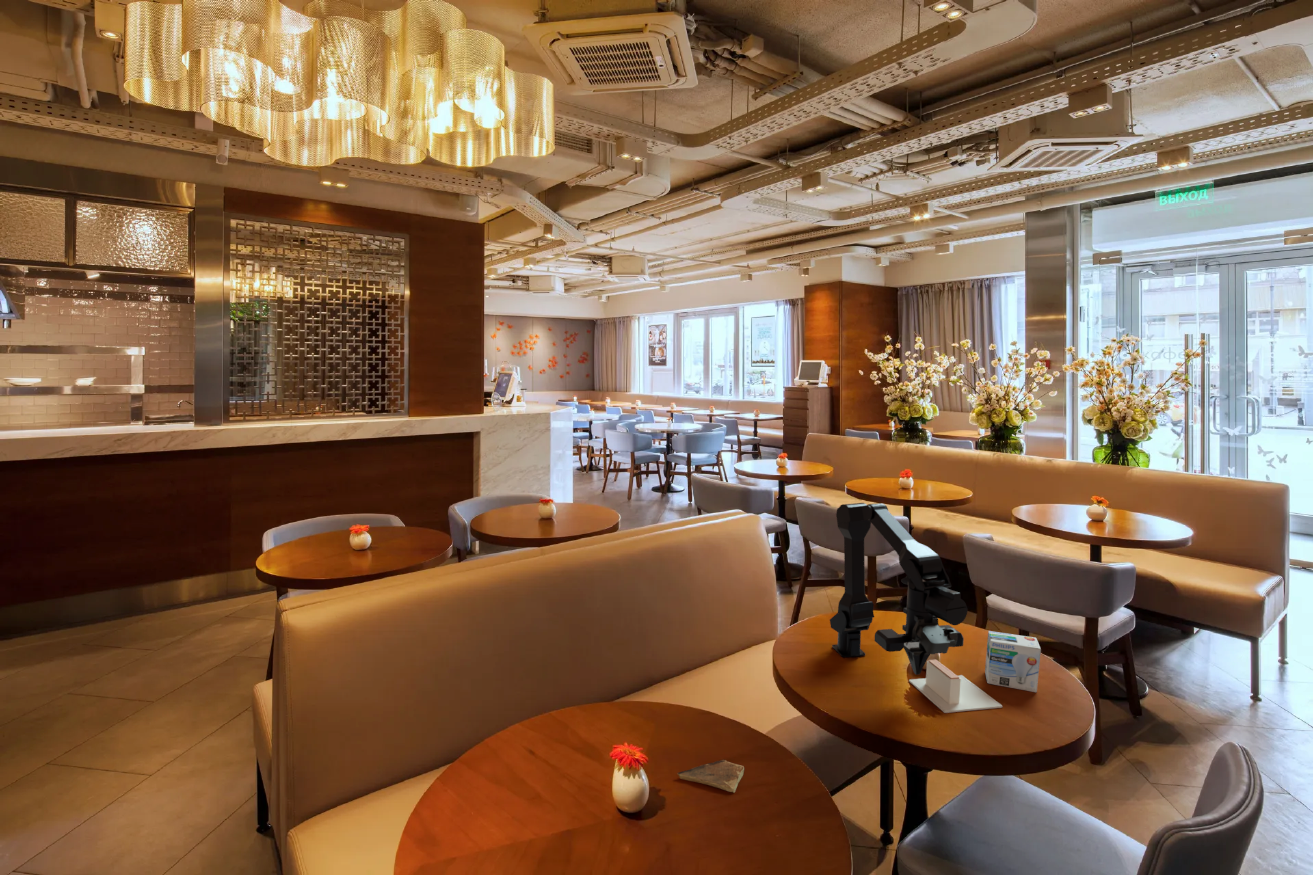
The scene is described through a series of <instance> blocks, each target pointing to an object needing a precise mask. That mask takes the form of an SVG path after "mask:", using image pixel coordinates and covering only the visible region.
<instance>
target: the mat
mask: <svg viewBox="0 0 1313 875" xmlns="http://www.w3.org/2000/svg"><path fill="white" fill-rule="evenodd" d="M957 676H958V677H959V678H960V679H961V682H960V697H959V703H956V704H949V703H947V702H946V701H945V700H944V699H943V698H942V697H940V696H939V695H938V694H937V693H936V692H935V691H933V690H932V689H931V688H930V687H929V686H927V685H926V677H925V678H911V679H909V680H908V682H909V683H910V684H911V685H913V686H914V687H915V688H916V690H918V691H919V692H920V693H921V694H922V695H924V696H925V697H926V698H927V699H928V700H929V701H930V702H931V703H933V704H934V705H935V706H936V707H937V708H938V709H939V710H941V711H942V712H943V713H944V714H948V713H949V714H950V713H956V712H957V713H959V712H968V711H969V712H971V711H980V710H990V709H991V710H992V709H1001V708H1003V705H1002V704H1001V703H1000V702H998V701H996V699H994V698H993V697H991V696H990V695H989V694H987V693H986V692H985V691H984V690H982V689H981V688H979V686H977V685H976V684H974V683H973V682H971V681H970V680H969V679H967V678H966V677H965V676H964V675H963V674H960V675H957Z"/></svg>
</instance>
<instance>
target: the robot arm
mask: <svg viewBox="0 0 1313 875" xmlns="http://www.w3.org/2000/svg"><path fill="white" fill-rule="evenodd" d="M835 515H836V522H837V529H838V530H839V532H840V533H841V535H842V536H843V542H844V544H843V545H844V546H843V548H844V549H843V551H844V552H843V553H844V554H843V555H844V556H843V558H844V559H843V560H844V593H843V595H842V596H841V598H840V599H839V601H838V607H837V613H836V614H834V615H833V616H832V617H831V618H830V619H829V623H830V629H832V630H833V631H835V632H837V644H831V646H832V648H833V649H834V650H835V651H836V652H837V653H838V655H840V656H841V657H842V658H851V657H852V658H853V657H863V656H866V652H865V651H864V650H863V649H861V639H862V636H861V635H862V633H861V632H862V631H868V630H869V629H870V626H871V624H872V623H873V618H875V614H874V602H873V601H870V599H869V598H868V596H867V595H866V591H865V590H866V588H865V586H866V583H865V582H866V581H865V580H866V578H865V577H866V576H865V575H866V574H865V572H866V570H865V539H866V537H867V535H868V533H869V531H870V529H871V524H872V525H873V526H874V528H875V529H876V530H877V531H878V533H880V535H881V536H882V537H883V539H884V540H886V542H887V543H888V544H889V545H890V547H891V548H892V549H893V550H894V552H896V554H897V556H898V563H899V565H900V567H901V568H902V571H903V572H904V574H905V575H906V576H905V577H903V578H902V579H900V581H901V583H903V584H904V585H907V597H906V607H903V609H902V610H903V613H904V614H905V615H906V618H905V624H902V630H903V631H904V633H898V632H896V630H894V629H892V628H887V629H877V631H875V633H874V642H875V643H876V644H877V645H879V647H881V648H882V649H883V650H885V652H889V653H891V652H901V651H902V650H903V649H904V652H905V654H906V657H907V658H908V661H909V664H910V666H911V668H912V671H913V673H914V674H915V675H916V676H917V675H918V676H919V675H921V673H922V671H923V668H924V667H925V664H927V661H928V660H929V657H930V656H931V655H937V654H947V653H948V650H949V648H950V647H951V648H956V647H957V648H959V647H964V635H963V634H962V632H960V631H958V630H957V629H956V628H954V627H952V626H958V625H960V624H962V623H963V622H964V620H965V619H966V617H967V616H968V612H969V611H968V607H967V603H966V602H965V601H964V599H962V598H961V597H962V596H961V595H962V594H961V592H958V591H955V590H952V589H949V588H951V587H952V583H951V581H950V577H949V575H948V573H947V571H946V569H945V567H944V564H943V561H942V559H941V557H940V556H939V554H938V553H936V552H935V551H934V550H932V548H930V547H929V546H927V545H925V544H922V543H920V542H918V541H917V540H916V539H914V537H912V535H911V534H910V533H909V532H908V531H907V530H906V529H905V528H904V527H903V526H902V524H901V523H900V522H899V521H898V519H896V518H895V517H894V515H892V513H891V512H890V511H889V508H888V506H887V505H886V504H885V503H881V502H878V503H865V502H855V503H844V504H843V503H842V504H841V505H839V506H838V508H837V509H836V513H835ZM935 578H937V579H935ZM926 579H927V580H926ZM928 579H932V580H928ZM939 619H940V620H941V621H944V622H946V623H947V624H946V625H939Z"/></svg>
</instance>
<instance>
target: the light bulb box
mask: <svg viewBox="0 0 1313 875" xmlns="http://www.w3.org/2000/svg"><path fill="white" fill-rule="evenodd" d="M1041 654H1042V649H1041V646H1040V644H1039V641H1038V639H1037V637H1033V636H1028V635H1027V636H1026V635H1019V634H1012V633H1007V632H998V631H991V630H988V633H987V643H986V653H985V665H984V666H985V668H984V672H985V678H986V682H987V684H988V685H995V686H999V687H1005V688H1010V689H1017V690H1022V691H1027V692H1032V693H1037V692H1038V684H1039V683H1038V682H1039V674H1040V673H1039V672H1040V661H1041Z"/></svg>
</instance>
